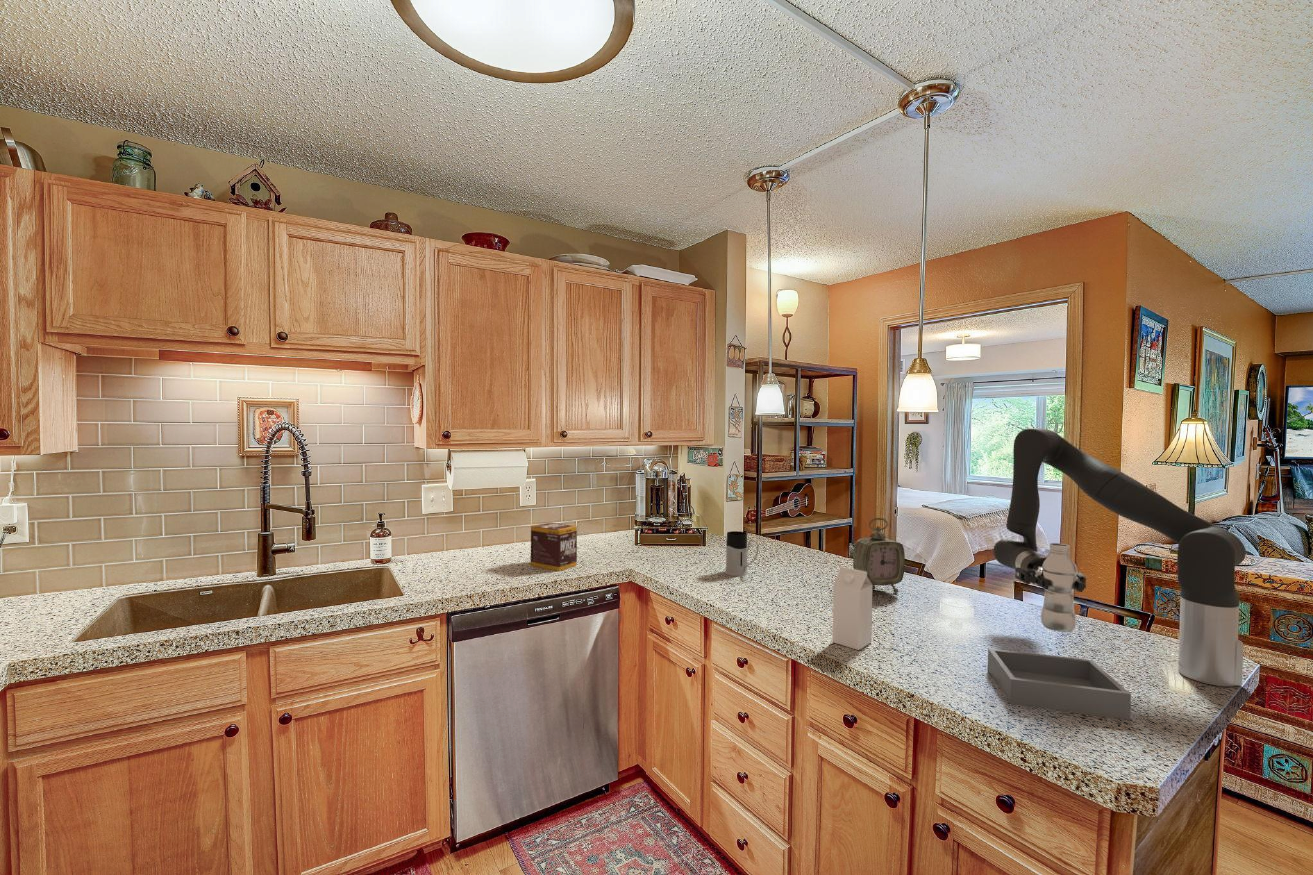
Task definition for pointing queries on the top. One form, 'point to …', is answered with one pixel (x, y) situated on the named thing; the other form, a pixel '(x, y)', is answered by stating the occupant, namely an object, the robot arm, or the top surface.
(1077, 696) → the bin
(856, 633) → the milk carton
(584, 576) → the top surface
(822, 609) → the top surface
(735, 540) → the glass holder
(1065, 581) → the silver bottle
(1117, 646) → the top surface
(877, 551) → the tabletop clock
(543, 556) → the supplement box
